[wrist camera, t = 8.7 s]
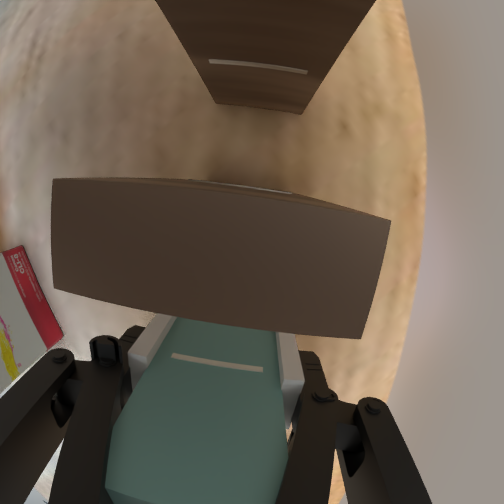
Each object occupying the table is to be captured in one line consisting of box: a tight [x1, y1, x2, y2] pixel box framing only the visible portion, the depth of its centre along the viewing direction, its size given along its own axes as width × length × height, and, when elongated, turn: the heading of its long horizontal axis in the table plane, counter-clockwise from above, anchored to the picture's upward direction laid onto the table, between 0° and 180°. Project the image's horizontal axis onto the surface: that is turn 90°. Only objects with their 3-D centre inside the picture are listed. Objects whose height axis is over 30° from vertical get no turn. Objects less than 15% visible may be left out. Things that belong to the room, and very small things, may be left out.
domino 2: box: [51, 178, 391, 339], centre depth 10 cm, size 2×5×13 cm, turn 82°
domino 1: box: [155, 0, 376, 114], centre depth 9 cm, size 2×5×13 cm, turn 82°
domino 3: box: [105, 317, 288, 504], centre depth 11 cm, size 2×5×13 cm, turn 82°
